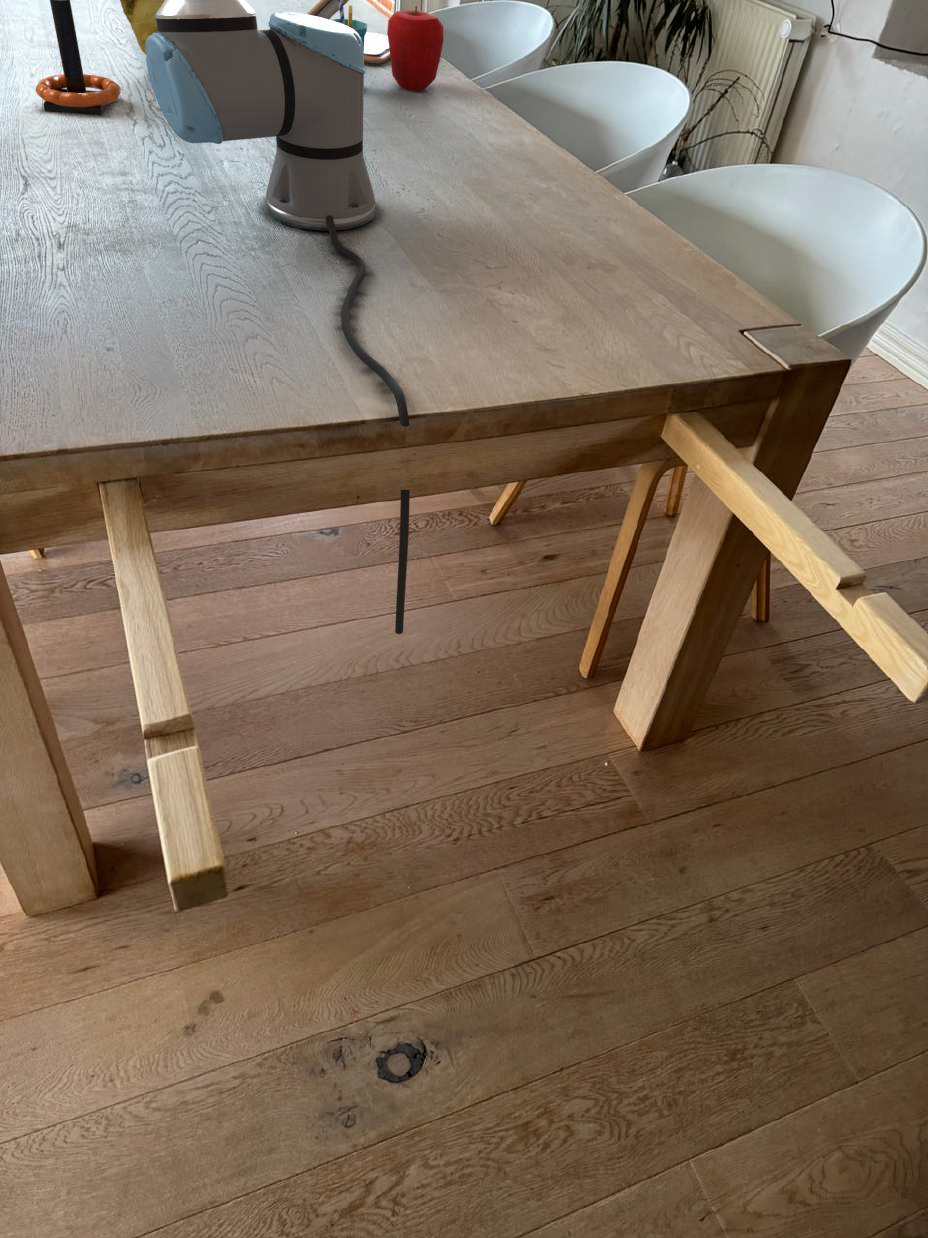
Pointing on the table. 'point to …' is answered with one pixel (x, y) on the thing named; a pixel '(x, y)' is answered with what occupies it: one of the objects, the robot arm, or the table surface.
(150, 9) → the pitcher
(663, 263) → the table surface
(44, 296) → the table surface
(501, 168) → the table surface
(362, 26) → the cup
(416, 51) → the apple
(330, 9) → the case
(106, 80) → the ring
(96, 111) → the peg stand
